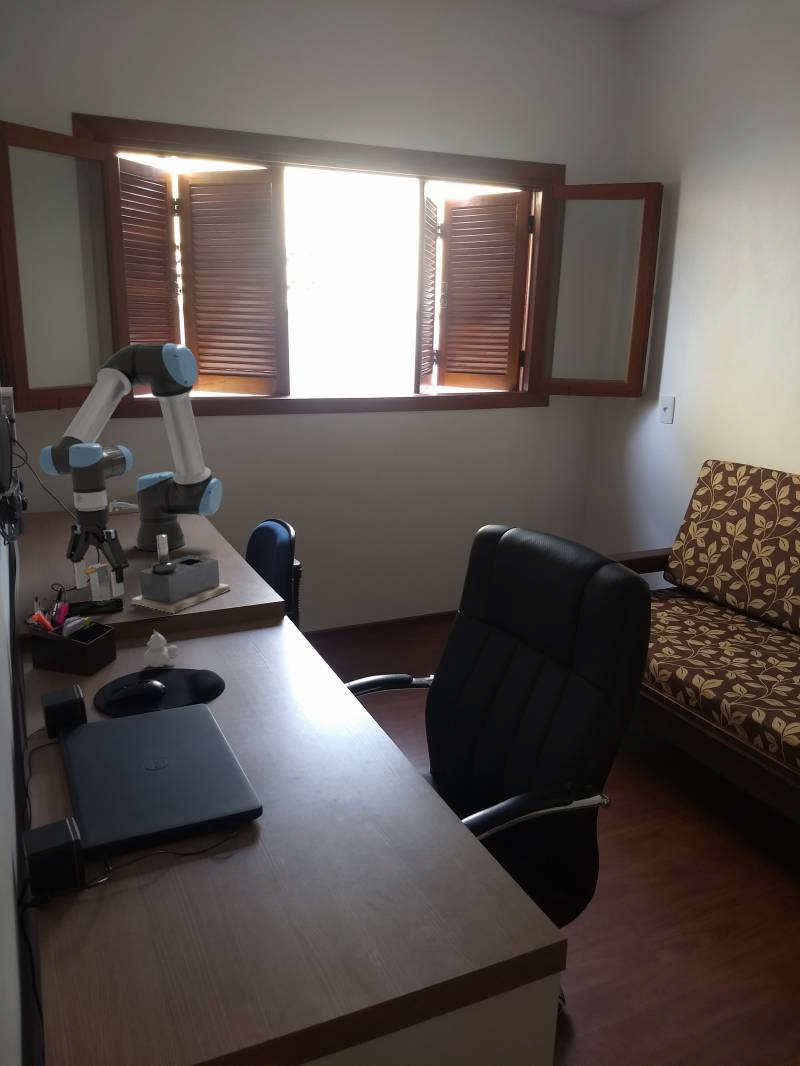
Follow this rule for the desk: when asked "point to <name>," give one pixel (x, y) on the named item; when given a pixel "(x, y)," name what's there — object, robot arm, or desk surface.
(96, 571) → the light grey boxy piece
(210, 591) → the base board
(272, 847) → the desk surface
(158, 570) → the block
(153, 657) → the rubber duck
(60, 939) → the desk surface
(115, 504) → the caliper
